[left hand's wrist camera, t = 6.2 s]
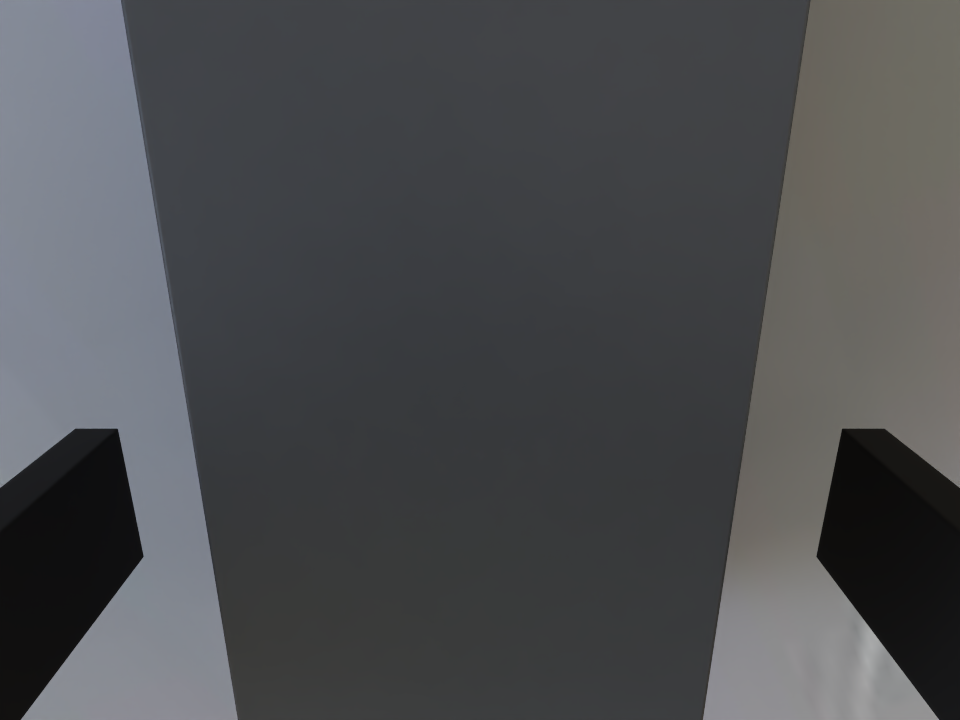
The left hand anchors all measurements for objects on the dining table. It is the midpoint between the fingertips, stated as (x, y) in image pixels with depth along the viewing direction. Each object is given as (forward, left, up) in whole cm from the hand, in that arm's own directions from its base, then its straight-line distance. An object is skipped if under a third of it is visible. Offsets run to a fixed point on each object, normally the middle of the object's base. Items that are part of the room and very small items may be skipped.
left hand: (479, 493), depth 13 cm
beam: (+33, +7, -3) cm, 34 cm away
